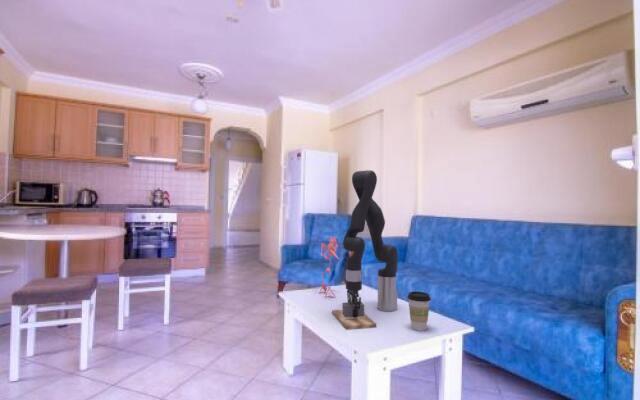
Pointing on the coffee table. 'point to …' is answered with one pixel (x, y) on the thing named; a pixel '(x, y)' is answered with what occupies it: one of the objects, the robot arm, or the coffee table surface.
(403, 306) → the coffee table surface
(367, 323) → the oak board
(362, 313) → the sanding block
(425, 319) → the coffee cup
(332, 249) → the figurine
